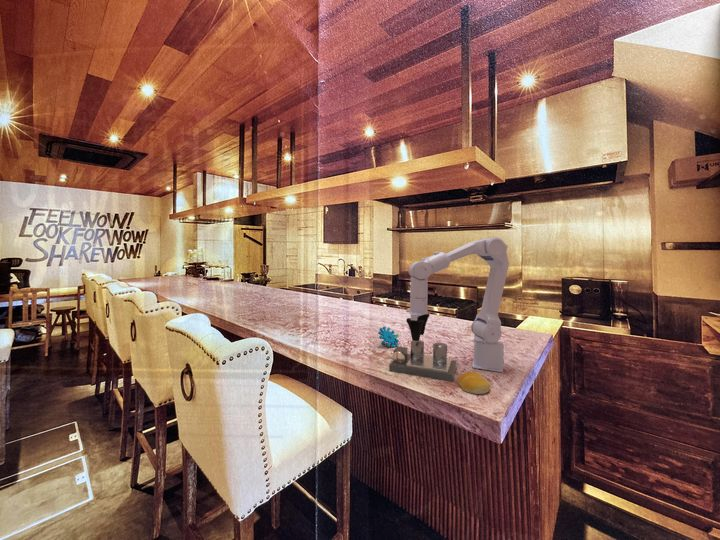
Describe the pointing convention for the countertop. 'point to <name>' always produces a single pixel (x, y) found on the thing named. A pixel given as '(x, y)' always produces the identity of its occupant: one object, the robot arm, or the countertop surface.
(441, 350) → the cylinder
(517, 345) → the countertop surface
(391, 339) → the gear
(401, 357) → the grey fixture base
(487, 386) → the bread roll
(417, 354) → the cylinder
